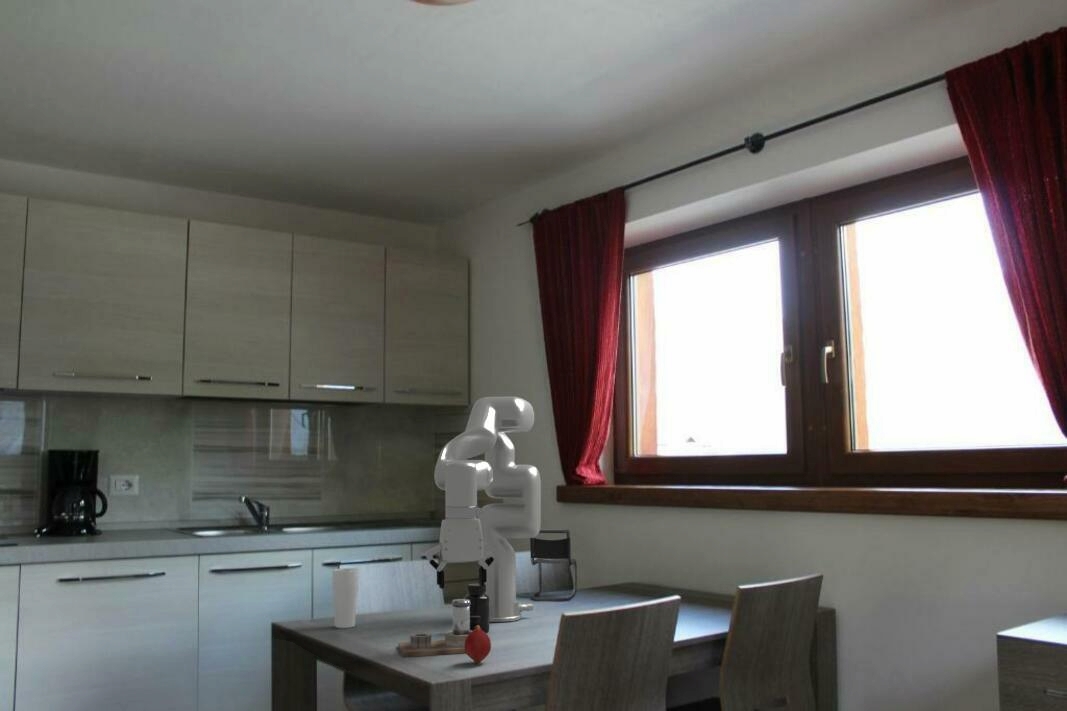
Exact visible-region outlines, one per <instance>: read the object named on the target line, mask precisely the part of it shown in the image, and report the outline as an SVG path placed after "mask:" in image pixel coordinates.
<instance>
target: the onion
mask: <svg viewBox="0 0 1067 711" xmlns="http://www.w3.org/2000/svg"><path fill="white" fill-rule="evenodd" d="M491 641H492V640H491V638H490V637H489V634H488V633H485V632H484V631H483V630H481V628H480V626H476V627H475V629H474V630H473V631H472V632H471V633H470V634H469V635H468V636H467V637H466V640H465V645H464V647H465V652H466V653H465V654H466V655H467V657H469V658H470V659H471V660H472V661H473V662H474V663H476V664H480V663H482V662H483V661H484V660H485V659H486V658H487V657H488V655H489V654H490V653H491V648H492V643H491Z"/></svg>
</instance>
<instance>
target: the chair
mask: <svg viewBox="0 0 1067 711" xmlns="http://www.w3.org/2000/svg"><path fill="white" fill-rule="evenodd" d="M538 534H566V538H561V539H541V538H536V537H533V538H529V539H530V540H529V541H530V543H529V544H530V546H529V547H530V563H531V565H532V566H535V565H537V570H538V571H537V572H538V574H537V576H538V580H537V583H538V586H537V588H538V589H537V591H536V592H535V593H534V594H533V595H532V596H530V600H531V601H534V602H569V601H571V600H572V599H573V598H574V597H575V596H576V595H577V592H578V591H577V588H578V581H577V580H578V576H577V574H578V572H577V570H578V569H577V568H578V567H577V560H576V559H575V558H572V553H571V552H572V551H571V545H572V544H571V532H570V530H569V529H540V531H539V533H538ZM565 563H567V565H568V566H569V567H570V566H572V567H573V571H572V572H573V589H572V590H573V591H572V593H571V594H570V595H569V596H568V597H538V596H539V595H541V594H542V588H543V587H542V584H543V581H542V580H543V579H542V576H543V575H542V573H543V572H542V564H553V565H554V564H565Z"/></svg>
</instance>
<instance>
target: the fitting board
mask: <svg viewBox="0 0 1067 711" xmlns="http://www.w3.org/2000/svg"><path fill="white" fill-rule="evenodd" d="M471 632H472V631H471V630H470V633H471ZM467 636H468V635H453V630H450V631H446V632H444V639H437V640H435V639H434V640H432V634H431V633H426V632H422V633H421V632H420V633H412V634H410V638H409V639H410V641H404V642H403V641H401V642H398V643H397V644H398V645H397V646H398V649H399V651H400V652H401V654H402V655H403V657H404V658H410V657H412V658H413V657H426V656H442V655H444V656H445V655H457V654H458V655H459V654H461V655H462V654H466V652H465V647H464V645H465V640H466V637H467Z"/></svg>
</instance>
